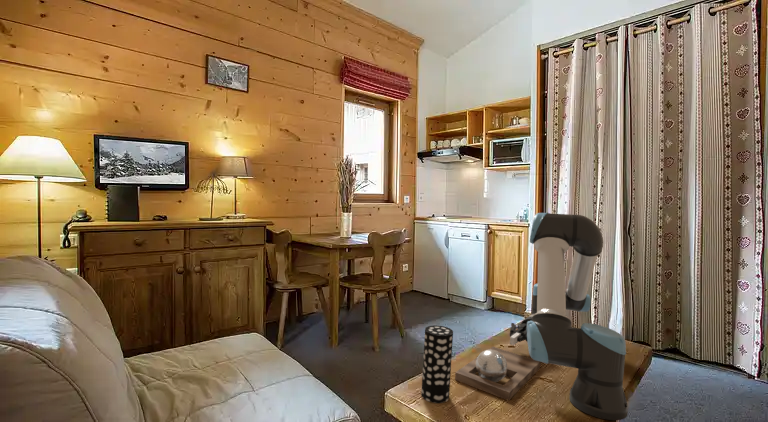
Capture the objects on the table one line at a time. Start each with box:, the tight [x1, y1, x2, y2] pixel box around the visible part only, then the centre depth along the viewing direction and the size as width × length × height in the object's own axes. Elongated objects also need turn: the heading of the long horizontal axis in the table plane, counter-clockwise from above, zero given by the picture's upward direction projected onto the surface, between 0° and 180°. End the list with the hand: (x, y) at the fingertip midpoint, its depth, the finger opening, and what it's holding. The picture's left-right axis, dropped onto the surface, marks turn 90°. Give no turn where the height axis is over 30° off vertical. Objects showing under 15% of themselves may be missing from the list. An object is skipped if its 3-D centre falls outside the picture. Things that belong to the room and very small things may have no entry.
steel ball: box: [476, 349, 507, 383], centre depth 125 cm, size 10×10×10 cm
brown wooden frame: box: [454, 346, 541, 401], centre depth 131 cm, size 30×18×2 cm, turn 141°
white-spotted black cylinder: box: [420, 324, 454, 404], centre depth 114 cm, size 8×8×20 cm
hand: (511, 341), depth 138 cm, fingers closed
